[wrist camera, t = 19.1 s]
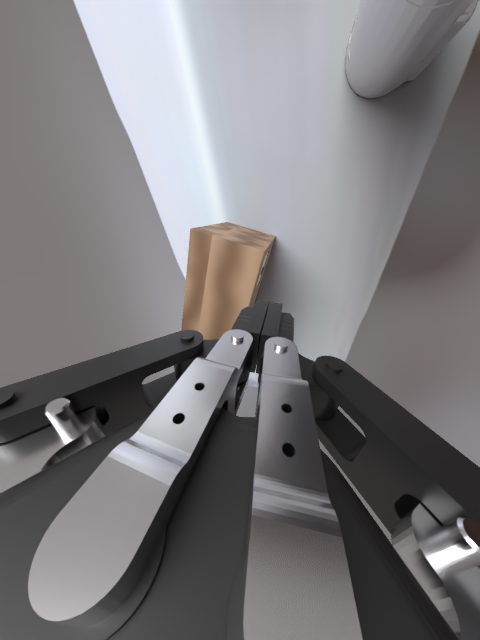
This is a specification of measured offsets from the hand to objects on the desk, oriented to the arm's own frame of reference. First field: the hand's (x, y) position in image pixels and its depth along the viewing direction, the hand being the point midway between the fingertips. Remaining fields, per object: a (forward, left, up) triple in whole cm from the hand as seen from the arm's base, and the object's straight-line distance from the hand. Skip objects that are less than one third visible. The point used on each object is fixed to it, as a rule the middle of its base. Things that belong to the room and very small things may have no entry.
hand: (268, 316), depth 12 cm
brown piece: (+9, +8, -31) cm, 33 cm away
